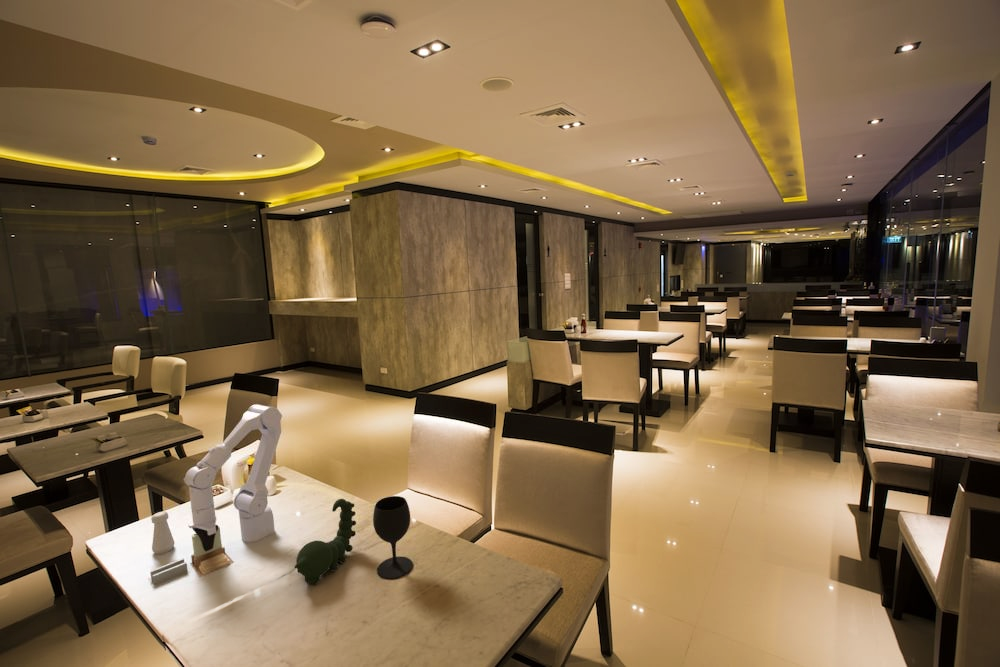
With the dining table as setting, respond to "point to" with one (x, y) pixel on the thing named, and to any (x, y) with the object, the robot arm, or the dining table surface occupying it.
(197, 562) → the walnut rack
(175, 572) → the slate stand
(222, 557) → the upper pine offcut
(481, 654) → the dining table surface
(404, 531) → the wine glass
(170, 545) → the salt shaker
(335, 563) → the toy figurine
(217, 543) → the sage sheet
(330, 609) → the dining table surface
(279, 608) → the dining table surface
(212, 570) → the lower pine offcut
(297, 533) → the dining table surface
